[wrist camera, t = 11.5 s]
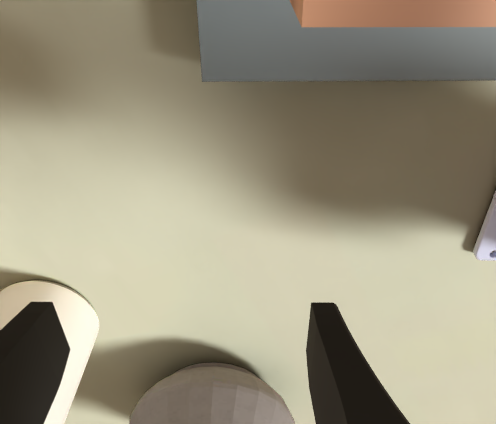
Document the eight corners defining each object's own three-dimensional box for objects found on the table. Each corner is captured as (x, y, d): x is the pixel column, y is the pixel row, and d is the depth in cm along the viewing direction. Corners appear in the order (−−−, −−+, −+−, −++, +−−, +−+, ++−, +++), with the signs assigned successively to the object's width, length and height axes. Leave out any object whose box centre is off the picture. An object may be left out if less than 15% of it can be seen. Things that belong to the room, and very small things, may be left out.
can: (-25, 284, 26) (-200, 513, 16) (74, 268, 25) (-45, 498, 15) (29, 351, 29) (-87, 572, 19) (117, 339, 28) (43, 563, 18)
